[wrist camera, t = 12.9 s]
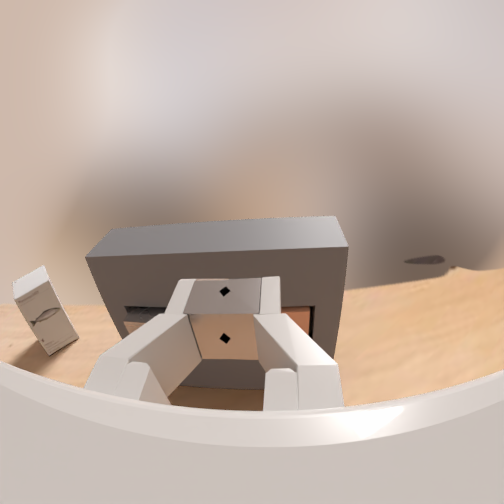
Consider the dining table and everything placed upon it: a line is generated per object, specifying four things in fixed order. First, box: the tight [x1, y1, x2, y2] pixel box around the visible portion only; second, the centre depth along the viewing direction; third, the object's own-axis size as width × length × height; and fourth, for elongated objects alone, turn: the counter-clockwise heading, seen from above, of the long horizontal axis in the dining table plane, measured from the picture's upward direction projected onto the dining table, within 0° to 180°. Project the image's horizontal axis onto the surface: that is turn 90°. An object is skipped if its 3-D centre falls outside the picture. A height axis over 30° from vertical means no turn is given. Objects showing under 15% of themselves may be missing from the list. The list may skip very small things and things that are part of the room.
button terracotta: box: [281, 306, 310, 335], centre depth 28 cm, size 3×5×5 cm, turn 86°
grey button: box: [123, 306, 167, 335], centre depth 28 cm, size 3×5×5 cm, turn 86°
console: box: [85, 216, 348, 389], centre depth 31 cm, size 6×24×20 cm, turn 86°
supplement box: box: [12, 265, 79, 356], centre depth 39 cm, size 7×7×13 cm
